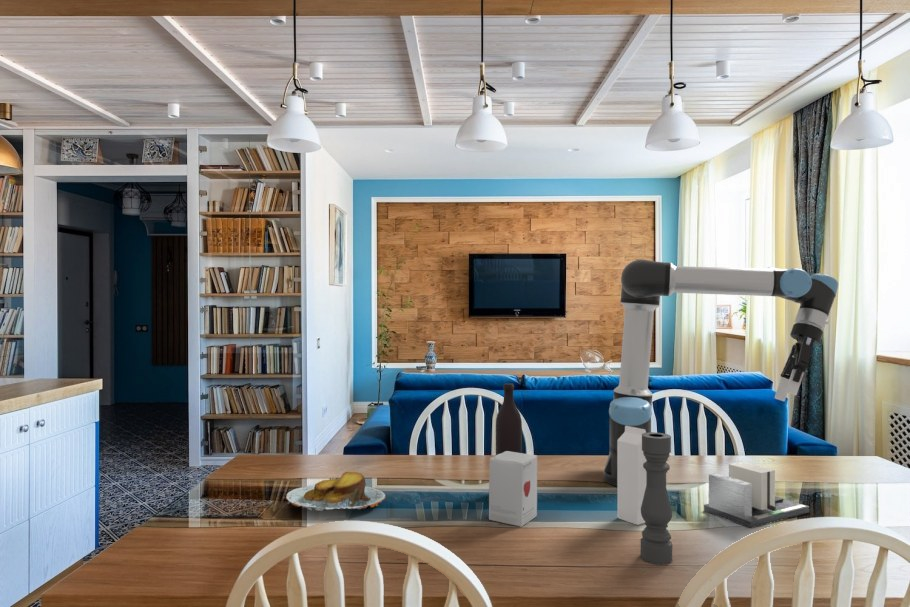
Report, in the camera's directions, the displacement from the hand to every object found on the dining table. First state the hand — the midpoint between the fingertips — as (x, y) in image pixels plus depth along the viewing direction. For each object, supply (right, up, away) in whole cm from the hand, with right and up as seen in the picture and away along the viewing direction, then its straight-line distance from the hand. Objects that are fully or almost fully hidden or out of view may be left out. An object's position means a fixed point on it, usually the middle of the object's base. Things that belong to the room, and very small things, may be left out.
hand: (784, 396), depth 170 cm
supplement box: (-78, -26, -23) cm, 85 cm away
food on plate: (-123, -26, -11) cm, 126 cm away
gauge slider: (-18, -23, -20) cm, 36 cm away
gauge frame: (-17, -26, -18) cm, 36 cm away
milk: (-48, -26, -23) cm, 60 cm away
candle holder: (-51, -26, -46) cm, 73 cm away
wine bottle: (-77, -26, -5) cm, 82 cm away
